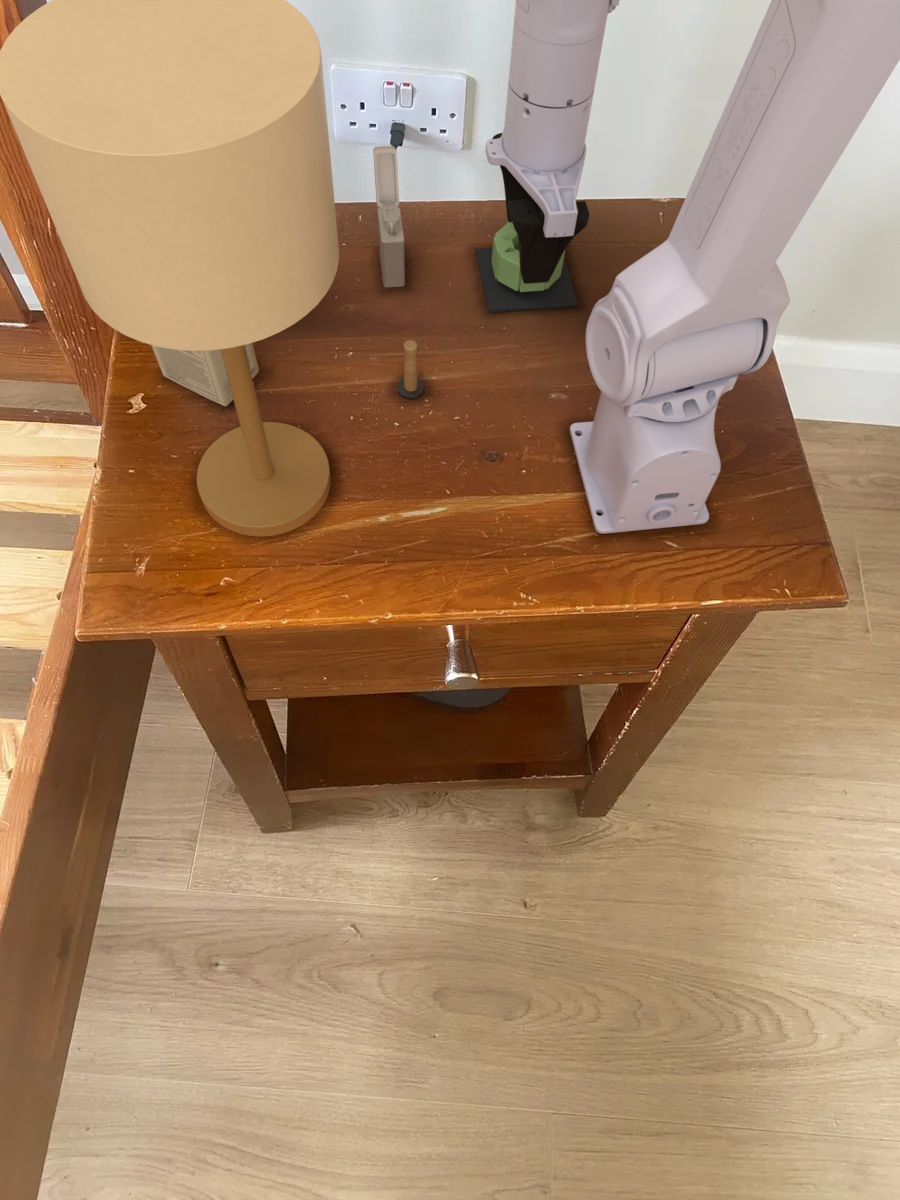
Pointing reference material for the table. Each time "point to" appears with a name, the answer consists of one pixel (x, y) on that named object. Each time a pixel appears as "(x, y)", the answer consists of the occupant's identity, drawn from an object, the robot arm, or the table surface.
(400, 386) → the peg
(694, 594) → the table surface
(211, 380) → the cosmetic box
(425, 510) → the table surface
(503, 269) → the ring
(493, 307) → the coaster
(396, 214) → the lighter
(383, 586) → the table surface
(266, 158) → the lamp
